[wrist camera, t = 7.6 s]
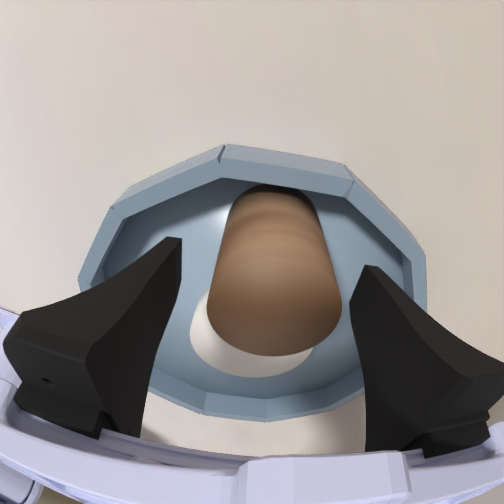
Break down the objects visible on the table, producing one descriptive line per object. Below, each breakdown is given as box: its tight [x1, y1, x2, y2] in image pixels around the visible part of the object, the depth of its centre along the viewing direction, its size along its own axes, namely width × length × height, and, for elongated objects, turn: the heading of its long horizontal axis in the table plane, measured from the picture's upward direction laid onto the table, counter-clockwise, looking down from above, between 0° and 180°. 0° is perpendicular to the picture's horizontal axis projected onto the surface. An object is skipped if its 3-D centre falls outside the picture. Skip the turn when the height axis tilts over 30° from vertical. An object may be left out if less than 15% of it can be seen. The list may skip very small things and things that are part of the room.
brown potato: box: [206, 183, 342, 357], centre depth 12 cm, size 4×4×6 cm
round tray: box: [78, 144, 427, 422], centre depth 18 cm, size 20×20×2 cm
